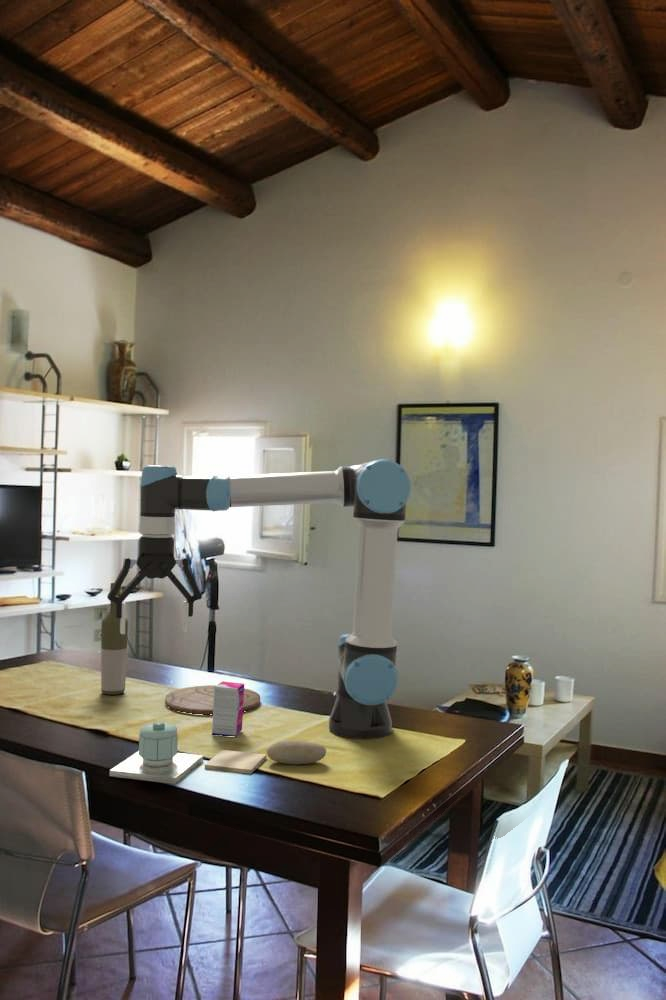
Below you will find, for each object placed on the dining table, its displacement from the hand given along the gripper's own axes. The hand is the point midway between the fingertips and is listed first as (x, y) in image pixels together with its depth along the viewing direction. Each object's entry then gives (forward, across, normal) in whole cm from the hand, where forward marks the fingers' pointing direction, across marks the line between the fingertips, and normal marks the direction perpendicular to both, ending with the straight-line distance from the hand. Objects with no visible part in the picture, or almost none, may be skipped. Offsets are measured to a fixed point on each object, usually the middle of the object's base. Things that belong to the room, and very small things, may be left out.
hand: (154, 632), depth 185 cm
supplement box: (+25, -18, -5) cm, 32 cm away
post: (+25, +1, +15) cm, 29 cm away
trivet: (+26, -21, -32) cm, 46 cm away
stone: (+25, -28, +19) cm, 42 cm away
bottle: (+25, +3, -48) cm, 54 cm away
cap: (+22, +1, +15) cm, 27 cm away
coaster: (+25, -15, +16) cm, 34 cm away
